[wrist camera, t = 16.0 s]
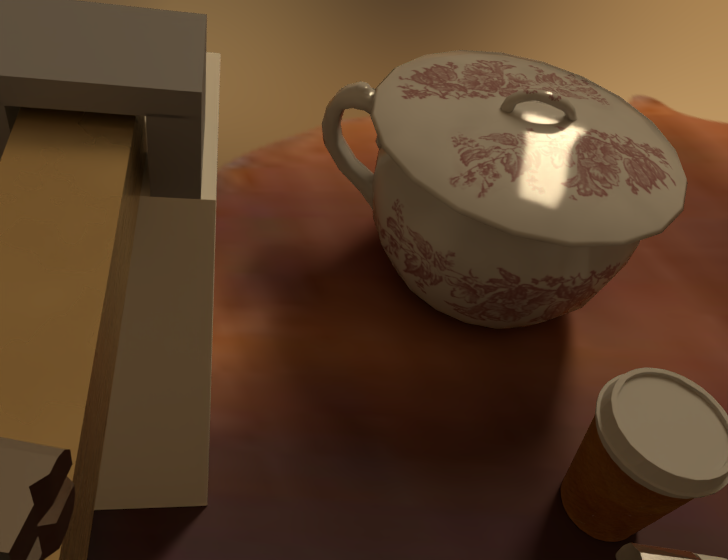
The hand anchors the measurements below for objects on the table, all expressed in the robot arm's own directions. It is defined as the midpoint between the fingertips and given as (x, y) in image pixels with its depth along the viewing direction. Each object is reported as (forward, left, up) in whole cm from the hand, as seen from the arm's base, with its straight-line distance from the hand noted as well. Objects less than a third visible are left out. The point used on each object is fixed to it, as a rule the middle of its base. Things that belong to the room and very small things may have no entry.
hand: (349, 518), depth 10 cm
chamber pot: (+43, -24, -38) cm, 62 cm away
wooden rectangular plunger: (+11, +7, -10) cm, 16 cm away
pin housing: (+24, +7, -38) cm, 45 cm away
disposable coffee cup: (+17, -28, -38) cm, 50 cm away
